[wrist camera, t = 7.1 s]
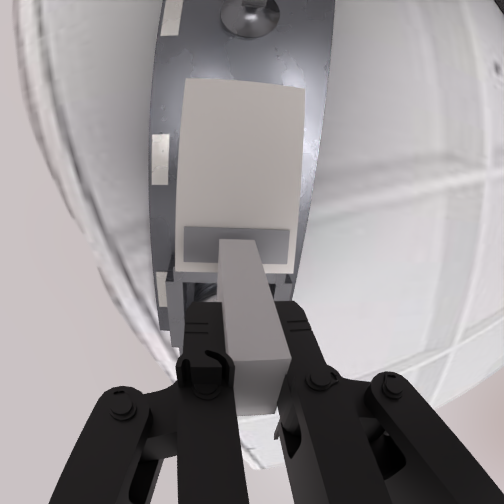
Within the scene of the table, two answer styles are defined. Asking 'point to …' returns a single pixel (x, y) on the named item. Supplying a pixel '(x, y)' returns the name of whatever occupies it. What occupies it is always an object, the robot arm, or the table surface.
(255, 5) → the toggle
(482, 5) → the table surface
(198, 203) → the plate
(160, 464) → the robot arm
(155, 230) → the panel
